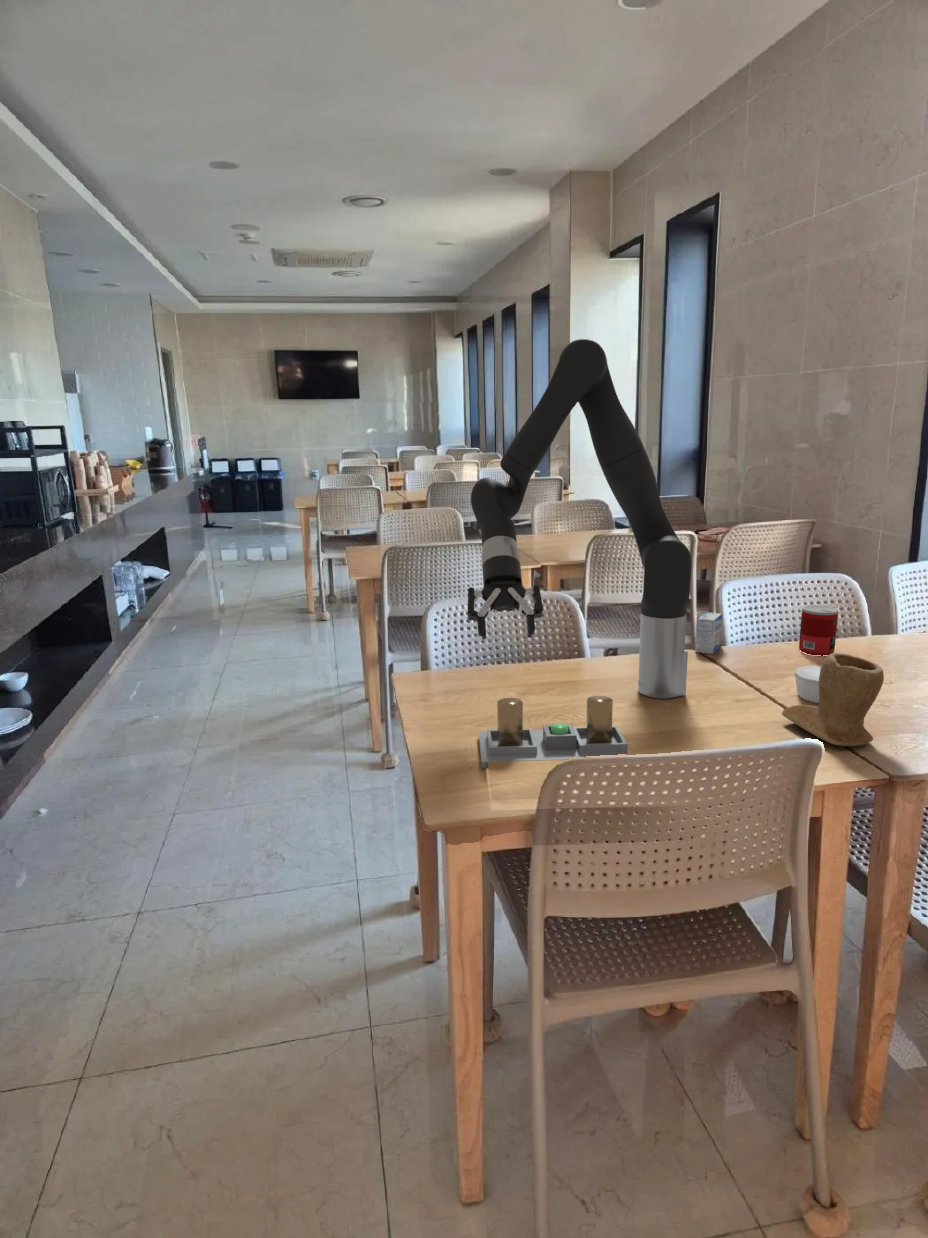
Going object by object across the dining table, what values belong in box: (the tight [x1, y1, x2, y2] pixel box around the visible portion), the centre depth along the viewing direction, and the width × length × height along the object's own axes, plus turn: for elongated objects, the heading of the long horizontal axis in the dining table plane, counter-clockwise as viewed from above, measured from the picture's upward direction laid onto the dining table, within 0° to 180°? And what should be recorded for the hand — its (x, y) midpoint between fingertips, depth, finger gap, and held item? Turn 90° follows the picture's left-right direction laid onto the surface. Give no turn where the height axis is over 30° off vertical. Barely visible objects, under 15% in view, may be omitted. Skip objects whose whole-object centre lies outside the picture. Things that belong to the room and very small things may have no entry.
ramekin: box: [794, 665, 822, 704], centre depth 160 cm, size 11×11×5 cm
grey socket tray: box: [478, 723, 629, 769], centre depth 137 cm, size 25×13×4 cm, turn 91°
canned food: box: [798, 604, 839, 657], centre depth 189 cm, size 8×8×11 cm
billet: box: [496, 697, 524, 746], centre depth 136 cm, size 4×4×8 cm
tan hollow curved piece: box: [781, 652, 885, 747], centre depth 140 cm, size 15×12×15 cm
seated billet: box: [586, 695, 614, 744], centre depth 137 cm, size 4×4×8 cm
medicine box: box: [694, 612, 723, 655], centre depth 194 cm, size 8×4×9 cm, turn 148°
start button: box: [550, 722, 568, 734], centre depth 137 cm, size 3×3×2 cm
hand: (507, 636), depth 145 cm, fingers open, 8 cm apart
